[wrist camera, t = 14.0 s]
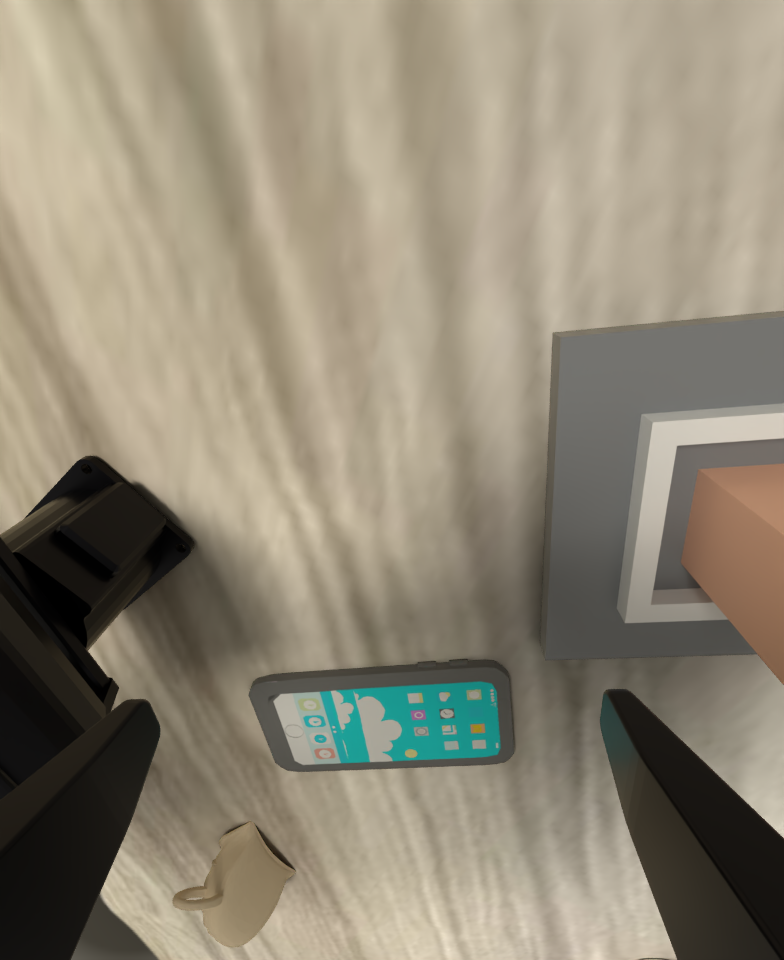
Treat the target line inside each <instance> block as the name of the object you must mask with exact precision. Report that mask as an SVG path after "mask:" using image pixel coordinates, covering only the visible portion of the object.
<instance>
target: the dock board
mask: <svg viewBox="0 0 784 960" xmlns="http://www.w3.org/2000/svg"><path fill="white" fill-rule="evenodd" d="M770 464H784V311H778V312H767V313H757V314H746V315H735V316H725V317H714V318H704V319H693V320H682V321H672V322H661V323H650V324H640V325H629V326H619V327H608V328H597V329H587V330H576V331H565V332H555V333H553V340H552V364H551V388H550V413H549V437H548V461H547V485H546V509H545V533H544V557H543V582H542V606H541V630H540V645H541V648H542V651H543V655H544V658H545V660H572V659H608V658H643V657H678V656H713V655H748V654H757V653H756V652H755V650H754V649H753V648H752V647H751V646H750V645H749V643H748V642H747V641H746V640H745V639H744V637H743V636H742V635H741V634H740V633H739V631H738V630H737V629H736V628H735V627H734V626H733V624H732V623H731V622H730V621H729V620H728V618H727V617H726V616H725V615H724V614H723V612H722V611H721V610H720V609H719V608H718V607H717V605H716V604H715V603H714V602H713V601H712V599H711V598H710V597H709V596H708V595H707V593H706V592H705V591H704V590H703V589H702V588H701V586H700V585H699V584H698V583H697V582H696V580H695V579H694V578H693V577H692V576H691V574H690V573H689V572H688V571H687V570H686V569H685V567H684V566H683V565H682V564H681V559H682V553H683V548H684V543H685V537H686V532H687V527H688V521H689V516H690V511H691V506H692V500H693V495H694V490H695V484H696V479H697V474H698V469H709V468H724V467H739V466H754V465H770Z"/></svg>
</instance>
